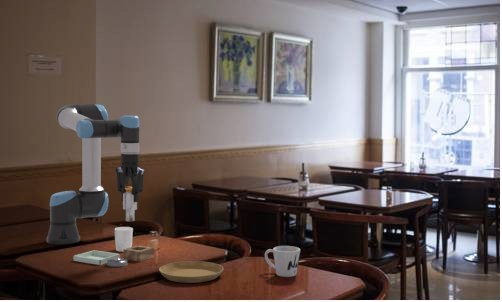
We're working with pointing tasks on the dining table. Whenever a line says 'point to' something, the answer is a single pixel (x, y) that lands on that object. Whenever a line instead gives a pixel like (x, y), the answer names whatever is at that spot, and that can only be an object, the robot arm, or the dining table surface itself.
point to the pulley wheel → (117, 262)
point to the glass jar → (129, 205)
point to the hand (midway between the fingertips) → (130, 209)
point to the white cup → (123, 238)
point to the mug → (284, 260)
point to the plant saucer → (191, 271)
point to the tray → (95, 257)
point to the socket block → (138, 253)
